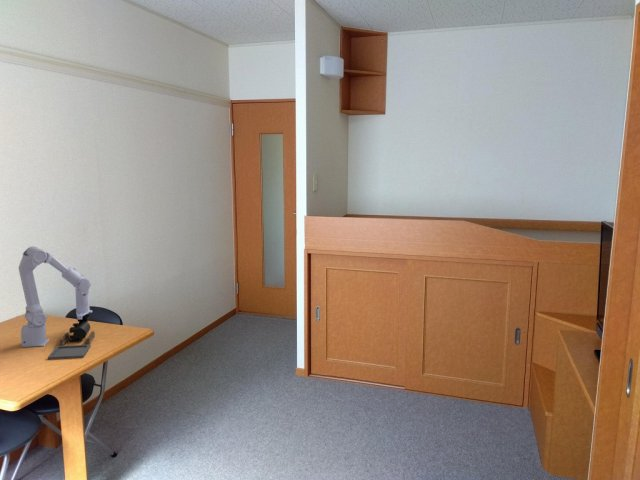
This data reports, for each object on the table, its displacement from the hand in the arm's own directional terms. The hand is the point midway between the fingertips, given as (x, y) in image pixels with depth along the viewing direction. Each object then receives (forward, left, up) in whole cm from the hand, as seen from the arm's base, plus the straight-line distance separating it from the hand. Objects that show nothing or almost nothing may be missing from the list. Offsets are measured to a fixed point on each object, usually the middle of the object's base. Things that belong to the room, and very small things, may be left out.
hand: (83, 329), depth 241 cm
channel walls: (0, -12, -2) cm, 12 cm away
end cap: (0, -7, -2) cm, 7 cm away
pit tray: (0, -25, -2) cm, 25 cm away
